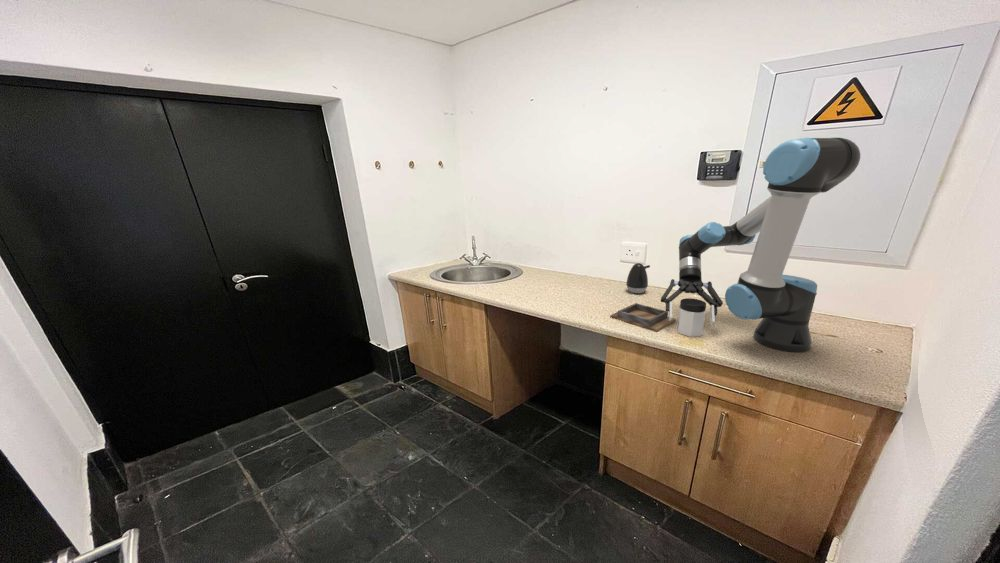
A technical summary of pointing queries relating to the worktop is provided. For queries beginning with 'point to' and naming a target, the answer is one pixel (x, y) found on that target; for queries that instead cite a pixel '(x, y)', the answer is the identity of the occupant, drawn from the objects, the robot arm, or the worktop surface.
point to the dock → (644, 317)
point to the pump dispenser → (637, 279)
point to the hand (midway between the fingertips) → (691, 321)
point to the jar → (691, 317)
